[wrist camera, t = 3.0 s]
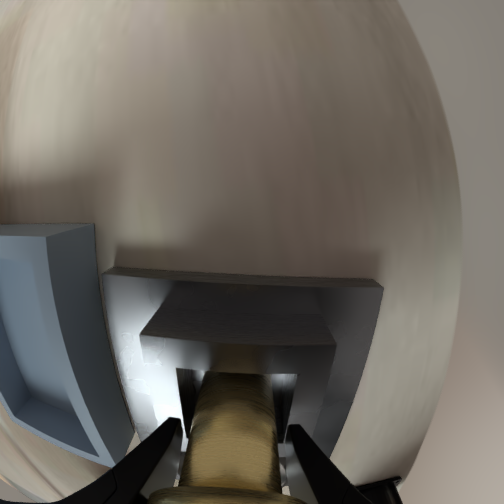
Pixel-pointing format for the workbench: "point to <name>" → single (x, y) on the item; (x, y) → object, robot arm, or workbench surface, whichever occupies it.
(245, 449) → the pin
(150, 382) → the grey socket base
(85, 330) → the pin tray
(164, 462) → the robot arm
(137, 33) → the workbench surface
